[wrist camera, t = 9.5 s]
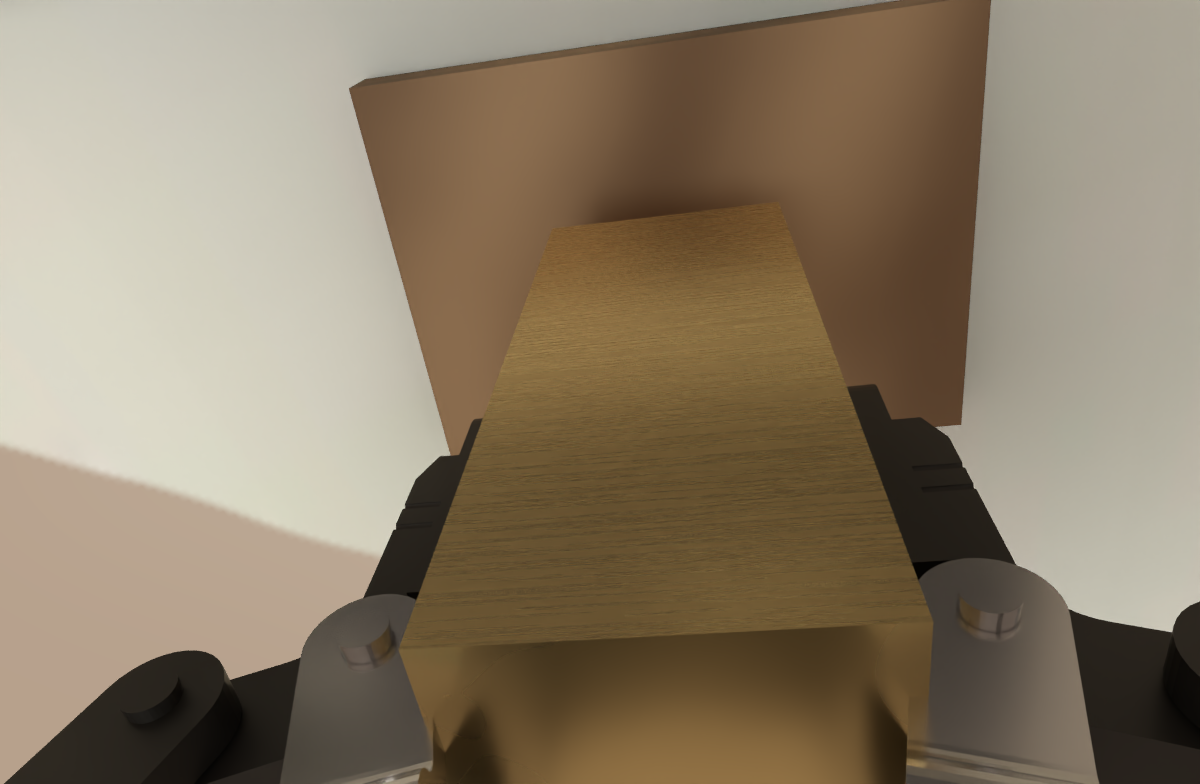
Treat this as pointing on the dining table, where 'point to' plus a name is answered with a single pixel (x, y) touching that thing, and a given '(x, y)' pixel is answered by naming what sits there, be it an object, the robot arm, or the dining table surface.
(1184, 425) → the dining table surface
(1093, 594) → the dining table surface
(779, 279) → the brass peg
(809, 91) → the walnut board
